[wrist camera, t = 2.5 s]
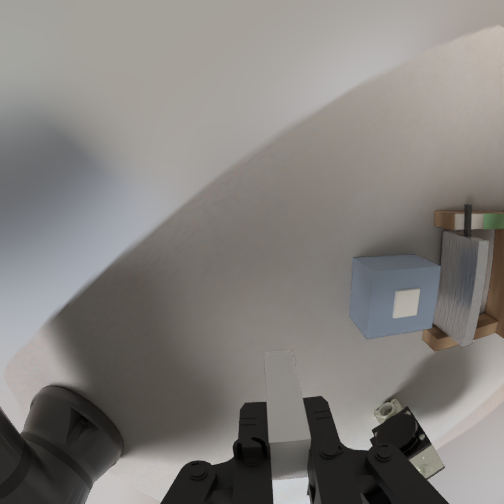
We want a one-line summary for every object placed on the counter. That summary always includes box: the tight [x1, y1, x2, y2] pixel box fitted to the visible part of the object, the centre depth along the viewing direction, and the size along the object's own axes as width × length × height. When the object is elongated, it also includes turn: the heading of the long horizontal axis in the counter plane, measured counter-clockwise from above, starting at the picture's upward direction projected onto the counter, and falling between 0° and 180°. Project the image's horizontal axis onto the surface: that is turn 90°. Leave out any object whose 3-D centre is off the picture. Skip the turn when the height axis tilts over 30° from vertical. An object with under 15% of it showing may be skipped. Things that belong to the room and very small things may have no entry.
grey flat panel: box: [433, 204, 489, 347], centre depth 23 cm, size 2×13×6 cm, turn 4°
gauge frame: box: [422, 211, 504, 351], centre depth 23 cm, size 12×15×8 cm
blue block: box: [350, 254, 441, 339], centre depth 25 cm, size 7×6×5 cm
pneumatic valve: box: [370, 399, 445, 479], centre depth 25 cm, size 6×12×12 cm, turn 38°
